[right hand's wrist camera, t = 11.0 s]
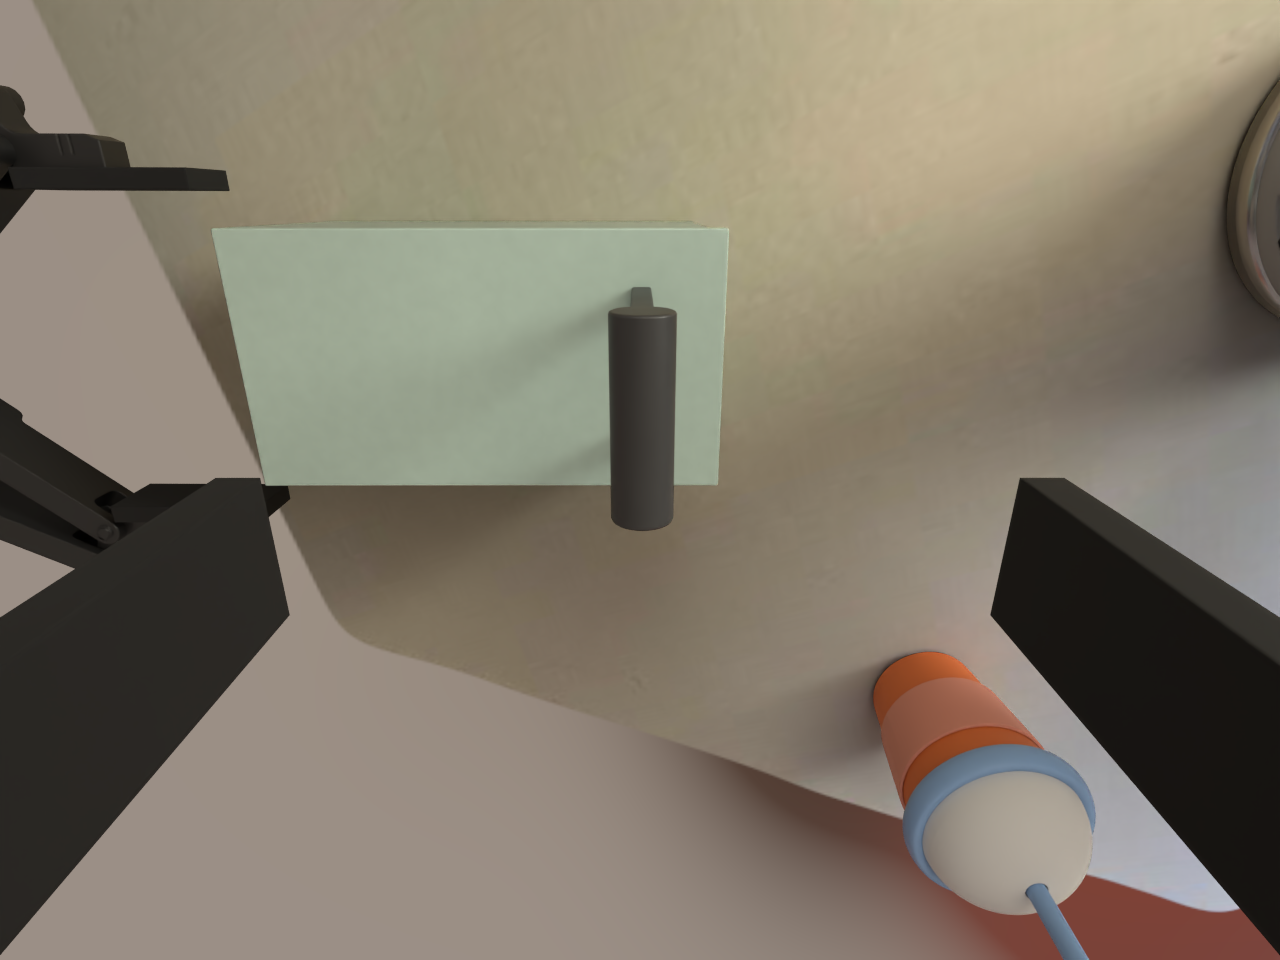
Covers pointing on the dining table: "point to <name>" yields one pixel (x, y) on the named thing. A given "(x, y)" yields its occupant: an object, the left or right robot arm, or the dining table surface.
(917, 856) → the cup with straw
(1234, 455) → the dining table surface
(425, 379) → the lid
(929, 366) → the dining table surface
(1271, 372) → the dining table surface
